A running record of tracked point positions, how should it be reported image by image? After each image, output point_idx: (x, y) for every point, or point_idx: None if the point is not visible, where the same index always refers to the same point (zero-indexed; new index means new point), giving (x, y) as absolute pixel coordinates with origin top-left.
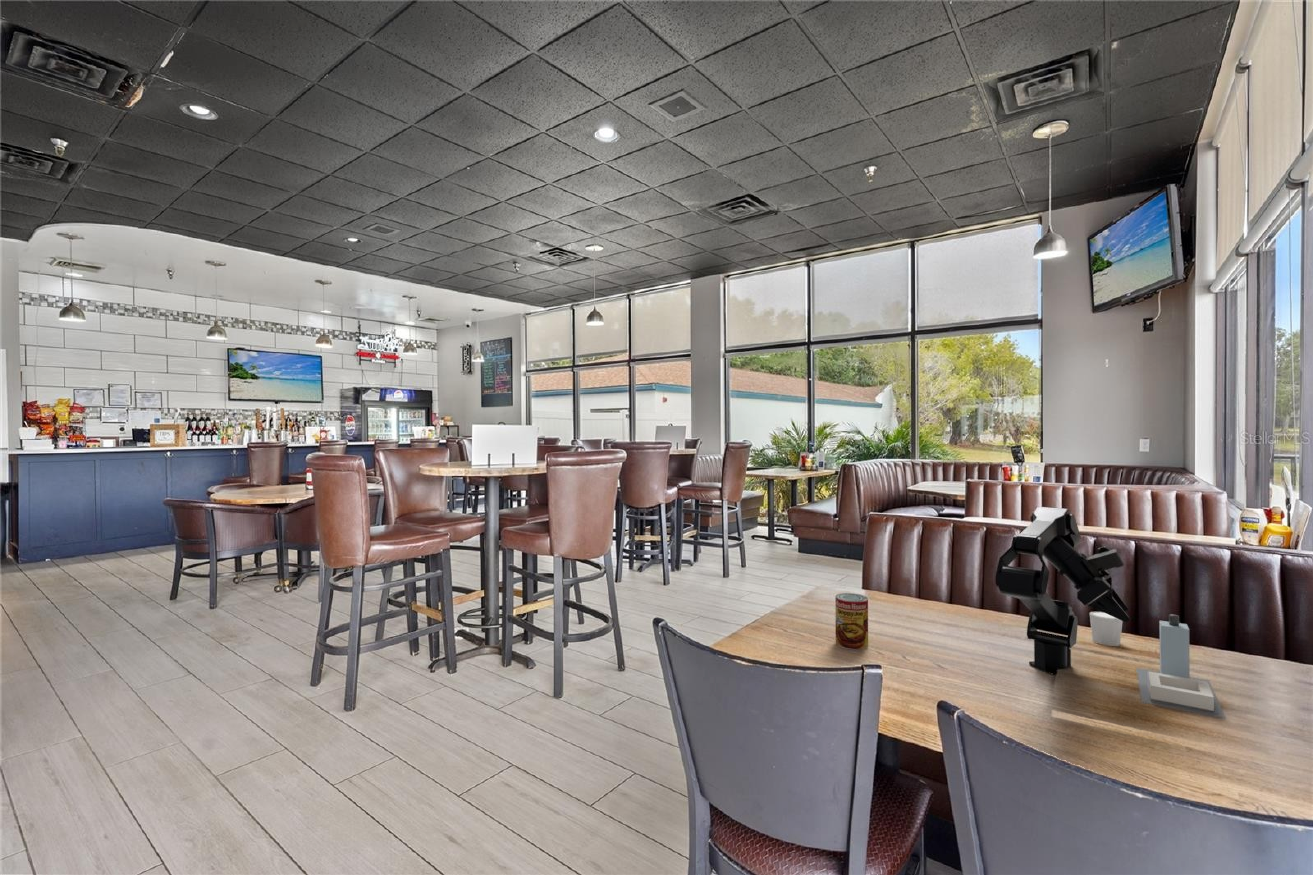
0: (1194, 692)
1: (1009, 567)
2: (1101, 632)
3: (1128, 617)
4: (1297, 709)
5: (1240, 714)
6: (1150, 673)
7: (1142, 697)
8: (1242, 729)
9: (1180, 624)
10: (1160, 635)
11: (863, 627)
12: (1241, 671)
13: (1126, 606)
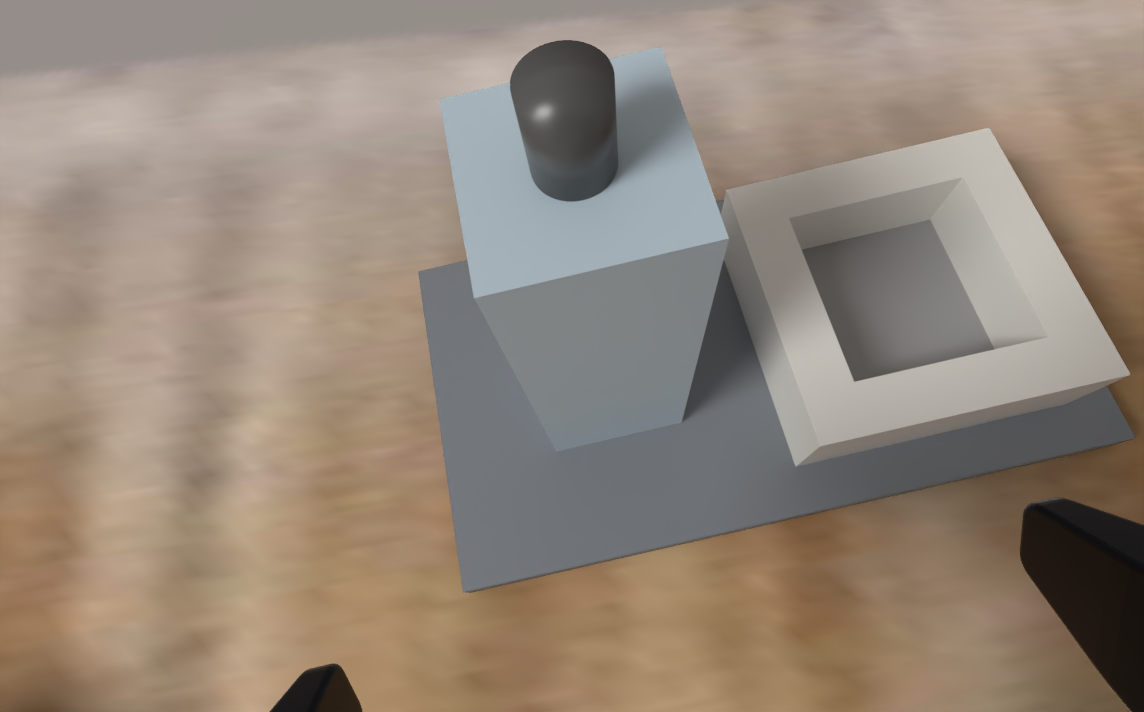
0: (1005, 195)
1: None
2: None
3: (1098, 512)
4: (506, 38)
5: (761, 145)
6: (858, 424)
7: (1048, 448)
8: (955, 116)
9: (499, 130)
10: (632, 321)
11: None
12: (92, 225)
13: (320, 701)
